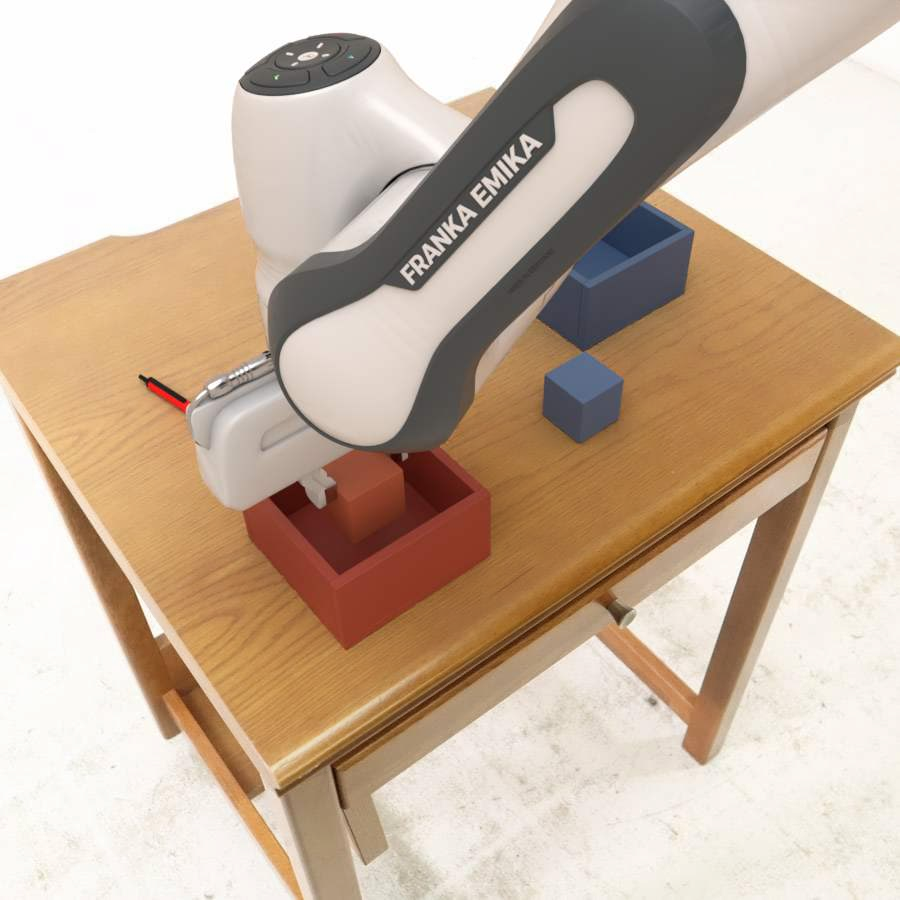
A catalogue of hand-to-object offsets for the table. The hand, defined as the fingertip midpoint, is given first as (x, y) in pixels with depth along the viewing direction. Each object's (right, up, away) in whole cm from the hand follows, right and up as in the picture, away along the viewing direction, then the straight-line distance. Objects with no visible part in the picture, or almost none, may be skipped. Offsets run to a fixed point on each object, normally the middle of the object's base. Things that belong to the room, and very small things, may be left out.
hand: (358, 478), depth 72 cm
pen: (-13, +3, +14) cm, 19 cm away
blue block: (+17, +5, +14) cm, 22 cm away
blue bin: (+19, +17, +26) cm, 36 cm away
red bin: (0, -5, +5) cm, 7 cm away
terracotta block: (0, -2, +2) cm, 3 cm away
